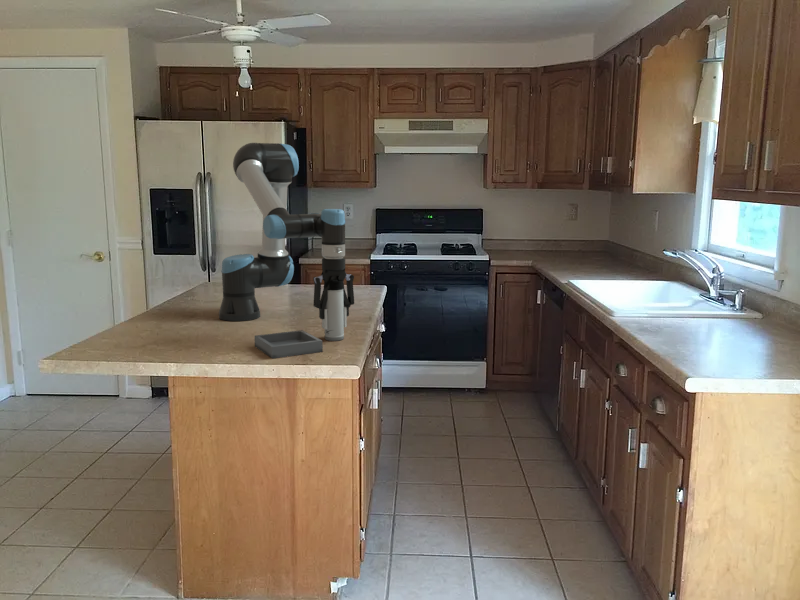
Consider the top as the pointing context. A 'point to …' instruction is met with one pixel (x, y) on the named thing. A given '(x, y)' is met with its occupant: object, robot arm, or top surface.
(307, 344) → the tray
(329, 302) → the travel mug
